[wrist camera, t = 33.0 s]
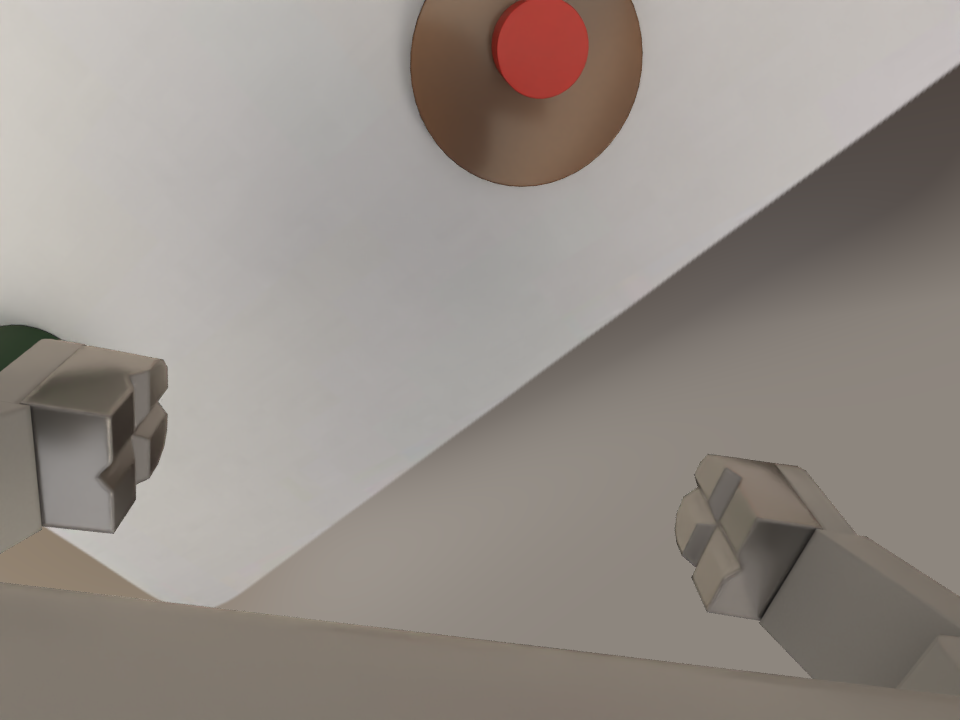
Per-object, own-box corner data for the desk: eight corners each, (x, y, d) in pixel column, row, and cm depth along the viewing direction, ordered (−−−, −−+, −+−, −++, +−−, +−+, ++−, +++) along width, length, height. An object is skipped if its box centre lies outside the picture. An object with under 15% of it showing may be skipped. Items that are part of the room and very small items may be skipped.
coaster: (682, -1, 30) (686, -1, 30) (575, 215, 35) (577, 218, 34) (462, -117, 28) (463, -118, 27) (379, 133, 32) (378, 136, 32)
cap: (589, 18, 30) (605, 19, 27) (555, 103, 32) (566, 112, 29) (510, -18, 29) (517, -20, 26) (479, 72, 31) (483, 78, 28)
